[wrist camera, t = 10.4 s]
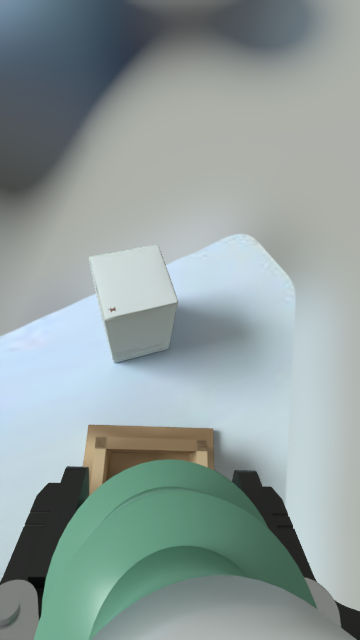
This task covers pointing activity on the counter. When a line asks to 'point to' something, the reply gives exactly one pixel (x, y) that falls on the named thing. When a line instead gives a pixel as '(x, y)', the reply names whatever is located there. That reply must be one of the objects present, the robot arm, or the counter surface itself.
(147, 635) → the green bottle
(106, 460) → the U stand
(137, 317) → the supplement box
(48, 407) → the counter surface
